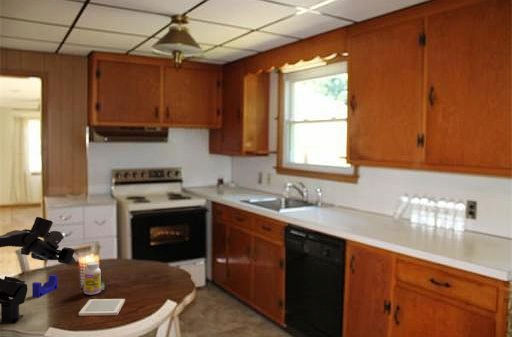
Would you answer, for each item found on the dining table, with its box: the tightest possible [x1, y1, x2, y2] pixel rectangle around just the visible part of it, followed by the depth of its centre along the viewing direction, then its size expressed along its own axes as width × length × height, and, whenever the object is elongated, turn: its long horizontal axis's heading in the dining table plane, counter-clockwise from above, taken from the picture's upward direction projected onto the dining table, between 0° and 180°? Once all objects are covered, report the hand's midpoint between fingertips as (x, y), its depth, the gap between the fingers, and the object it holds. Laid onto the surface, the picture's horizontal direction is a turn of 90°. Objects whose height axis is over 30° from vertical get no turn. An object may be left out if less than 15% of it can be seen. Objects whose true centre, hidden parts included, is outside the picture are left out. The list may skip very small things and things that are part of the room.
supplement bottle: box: [83, 261, 102, 296], centre depth 185 cm, size 7×7×13 cm
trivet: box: [78, 298, 126, 317], centre depth 168 cm, size 14×14×1 cm
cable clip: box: [31, 274, 59, 299], centre depth 184 cm, size 12×4×6 cm, turn 169°
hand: (66, 260), depth 179 cm, fingers open, 9 cm apart
